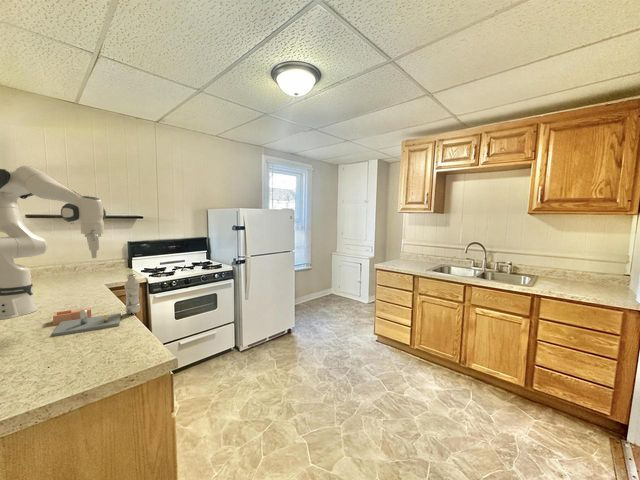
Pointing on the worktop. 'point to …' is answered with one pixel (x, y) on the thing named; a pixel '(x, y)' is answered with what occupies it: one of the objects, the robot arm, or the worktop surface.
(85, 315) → the post
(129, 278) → the plastic bottle
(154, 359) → the worktop surface
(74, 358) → the worktop surface
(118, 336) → the worktop surface
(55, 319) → the orange hollow block
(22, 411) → the worktop surface
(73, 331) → the board
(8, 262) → the robot arm
